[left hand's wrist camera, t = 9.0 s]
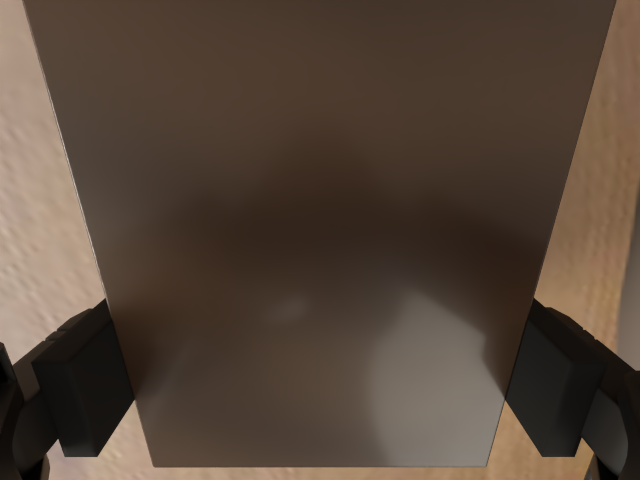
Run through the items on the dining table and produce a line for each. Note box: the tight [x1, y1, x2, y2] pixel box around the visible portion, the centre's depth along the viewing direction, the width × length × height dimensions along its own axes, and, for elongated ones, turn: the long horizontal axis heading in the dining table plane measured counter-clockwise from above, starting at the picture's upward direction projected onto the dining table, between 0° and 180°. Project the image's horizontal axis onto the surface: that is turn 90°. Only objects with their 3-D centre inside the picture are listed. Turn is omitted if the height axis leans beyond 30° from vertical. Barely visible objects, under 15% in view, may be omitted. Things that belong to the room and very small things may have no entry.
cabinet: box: [22, 0, 616, 467], centre depth 12 cm, size 17×10×9 cm, turn 0°
